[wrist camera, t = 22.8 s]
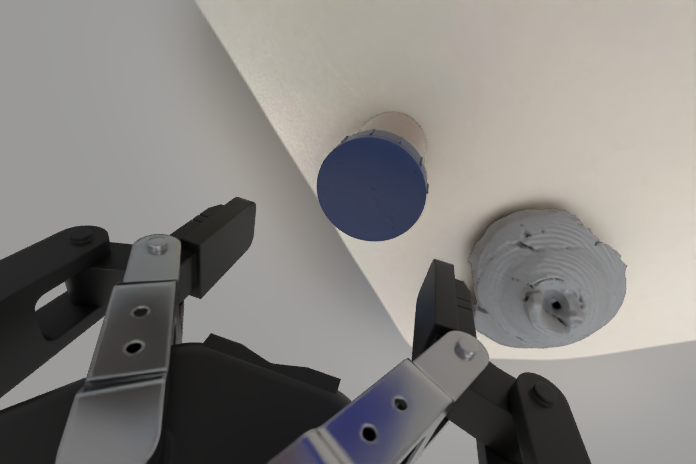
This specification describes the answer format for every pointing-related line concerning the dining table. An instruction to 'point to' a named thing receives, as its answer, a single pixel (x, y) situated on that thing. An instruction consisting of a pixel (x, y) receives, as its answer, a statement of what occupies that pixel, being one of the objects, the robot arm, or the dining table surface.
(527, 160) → the dining table surface
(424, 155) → the jar
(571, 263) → the grey clay mound
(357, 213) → the lid
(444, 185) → the dining table surface
